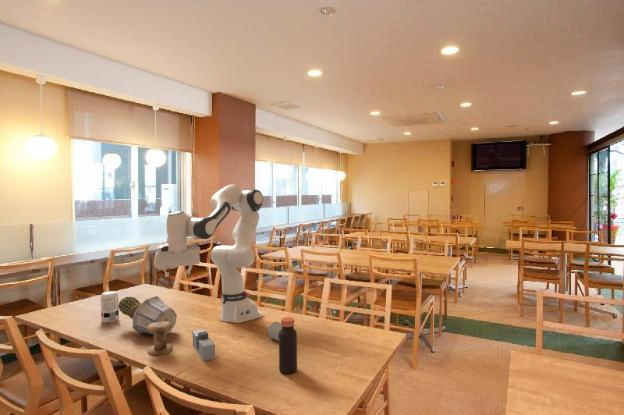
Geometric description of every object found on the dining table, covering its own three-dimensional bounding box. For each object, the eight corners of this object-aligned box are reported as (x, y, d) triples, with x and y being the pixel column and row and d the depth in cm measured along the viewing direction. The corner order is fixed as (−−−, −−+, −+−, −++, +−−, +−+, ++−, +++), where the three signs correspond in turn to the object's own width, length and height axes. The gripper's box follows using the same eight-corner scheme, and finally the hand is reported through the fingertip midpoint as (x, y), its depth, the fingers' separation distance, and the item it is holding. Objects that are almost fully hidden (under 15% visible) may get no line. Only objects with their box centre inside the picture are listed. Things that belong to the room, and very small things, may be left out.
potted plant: (183, 301, 187) (138, 281, 198) (155, 314, 171) (108, 291, 182) (179, 333, 191) (135, 312, 201) (151, 348, 174) (105, 325, 185)
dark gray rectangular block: (206, 346, 166) (206, 331, 165) (208, 349, 163) (208, 333, 162) (198, 348, 164) (198, 332, 164) (200, 351, 161) (199, 335, 161)
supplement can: (97, 322, 200) (96, 294, 199) (111, 317, 207) (110, 290, 206) (109, 324, 197) (108, 295, 196) (122, 319, 204) (121, 291, 203)
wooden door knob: (170, 343, 171) (170, 319, 171) (174, 352, 163) (173, 326, 162) (146, 348, 166) (145, 323, 166) (149, 357, 158) (148, 331, 157)
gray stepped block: (204, 342, 173) (203, 329, 173) (215, 358, 156) (214, 344, 156) (192, 344, 171) (192, 331, 170) (202, 361, 154) (202, 346, 154)
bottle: (297, 366, 149) (296, 316, 148) (297, 374, 142) (296, 322, 141) (279, 366, 149) (279, 316, 148) (278, 375, 142) (278, 322, 141)
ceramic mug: (278, 345, 169) (278, 328, 169) (267, 339, 175) (267, 323, 175) (296, 338, 176) (296, 322, 176) (285, 334, 182) (285, 318, 182)
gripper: (198, 243, 185) (198, 271, 186) (153, 247, 175) (153, 276, 176) (201, 245, 180) (201, 274, 180) (154, 248, 170) (155, 279, 171)
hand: (177, 275), depth 178 cm, fingers open, 8 cm apart
